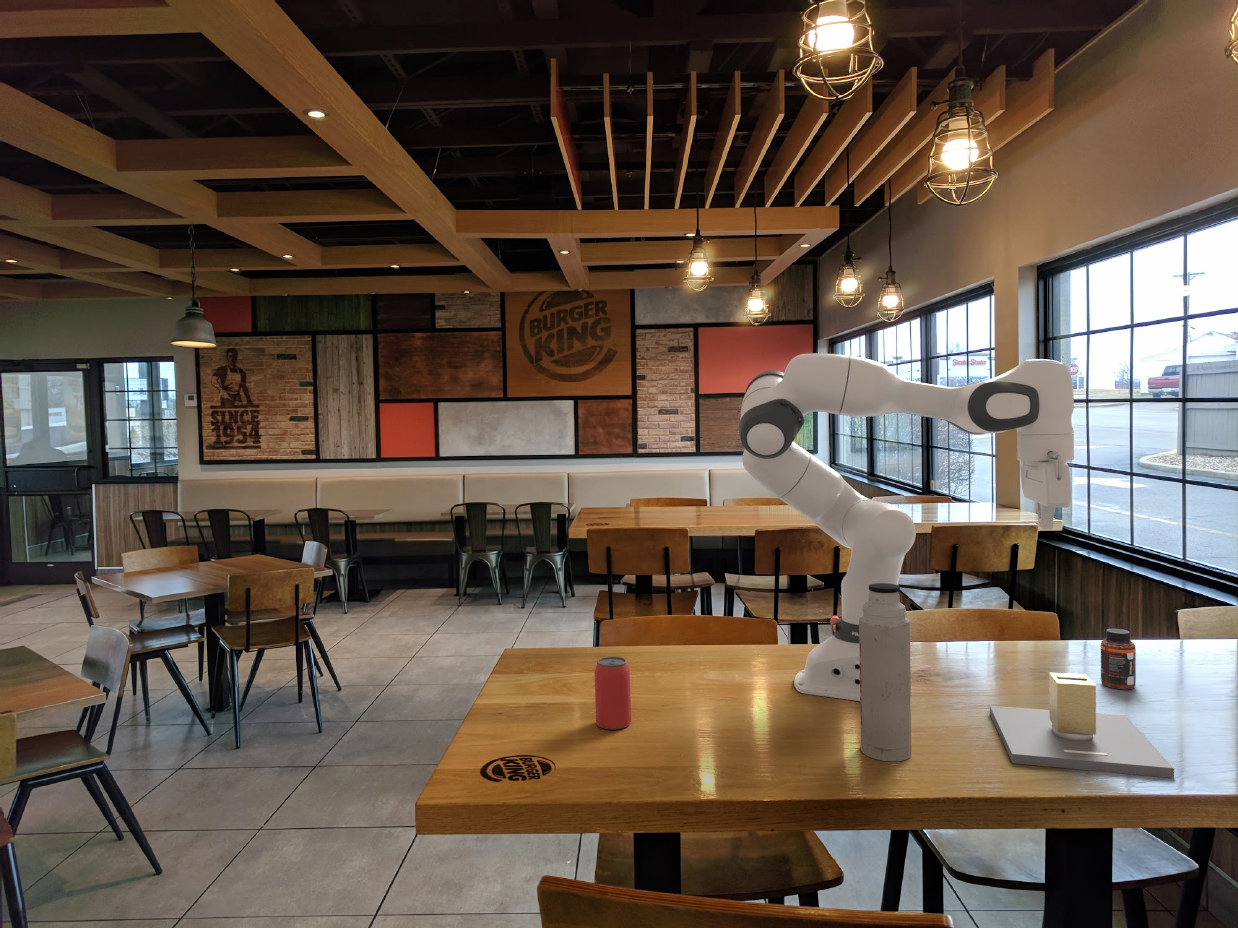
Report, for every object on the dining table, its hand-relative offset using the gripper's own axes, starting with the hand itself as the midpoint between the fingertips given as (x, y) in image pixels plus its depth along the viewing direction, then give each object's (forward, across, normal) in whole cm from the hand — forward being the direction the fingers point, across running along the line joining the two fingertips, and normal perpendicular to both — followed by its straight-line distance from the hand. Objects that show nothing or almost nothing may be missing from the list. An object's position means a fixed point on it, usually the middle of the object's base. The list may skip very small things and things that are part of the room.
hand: (1045, 528), depth 137 cm
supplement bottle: (+35, +24, -18) cm, 46 cm away
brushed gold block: (+32, -9, -2) cm, 34 cm away
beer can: (+35, -19, +76) cm, 86 cm away
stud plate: (+35, -9, -2) cm, 36 cm away
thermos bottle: (+35, -20, +28) cm, 49 cm away
